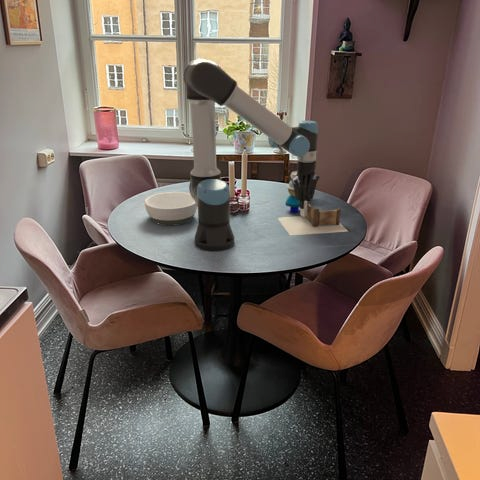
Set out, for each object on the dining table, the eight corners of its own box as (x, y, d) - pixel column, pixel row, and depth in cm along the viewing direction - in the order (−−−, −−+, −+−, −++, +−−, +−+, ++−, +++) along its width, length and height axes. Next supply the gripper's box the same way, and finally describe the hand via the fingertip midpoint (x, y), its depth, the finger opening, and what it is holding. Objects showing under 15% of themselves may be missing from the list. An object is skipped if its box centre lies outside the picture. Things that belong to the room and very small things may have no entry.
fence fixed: (313, 227, 197) (314, 210, 195) (311, 225, 200) (312, 208, 197) (340, 225, 199) (341, 208, 197) (338, 223, 202) (339, 206, 199)
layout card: (290, 236, 189) (290, 235, 189) (277, 218, 207) (277, 217, 207) (348, 232, 194) (348, 231, 193) (330, 215, 212) (330, 214, 211)
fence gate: (315, 223, 200) (316, 209, 198) (311, 224, 200) (312, 209, 197) (307, 215, 209) (308, 201, 207) (303, 215, 209) (304, 201, 206)
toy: (303, 215, 211) (305, 182, 205) (283, 214, 212) (285, 181, 207) (305, 209, 219) (307, 177, 213) (286, 207, 220) (287, 175, 214)
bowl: (142, 212, 215) (141, 194, 211) (192, 207, 221) (191, 189, 218) (150, 230, 195) (148, 211, 192) (204, 224, 201) (203, 205, 198)
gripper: (299, 164, 189) (296, 221, 198) (325, 160, 195) (321, 215, 204) (288, 160, 195) (285, 215, 204) (313, 156, 201) (310, 210, 210)
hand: (303, 215), depth 204 cm, fingers closed
